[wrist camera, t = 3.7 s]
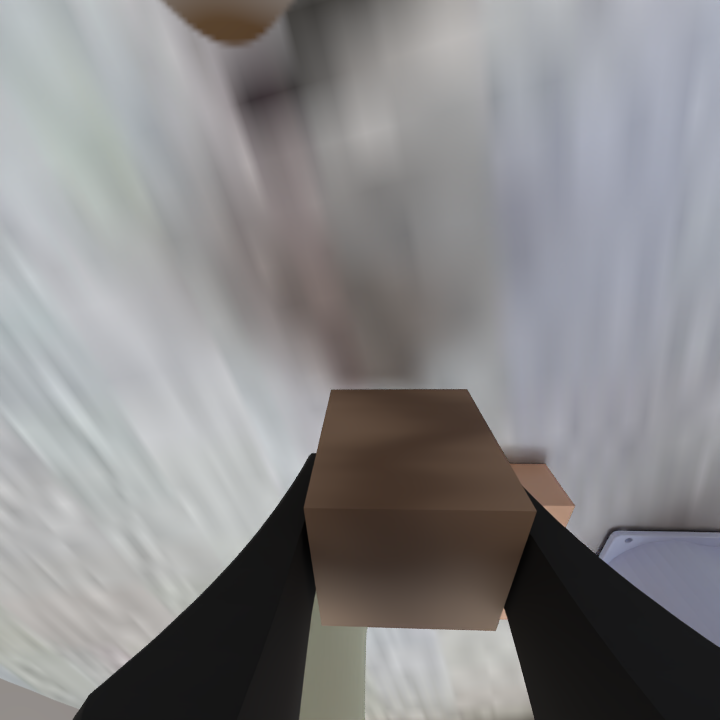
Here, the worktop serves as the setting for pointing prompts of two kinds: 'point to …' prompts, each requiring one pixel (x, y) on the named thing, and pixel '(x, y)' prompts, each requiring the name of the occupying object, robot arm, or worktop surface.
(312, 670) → the can
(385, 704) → the worktop surface
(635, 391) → the worktop surface
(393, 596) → the walnut cube
